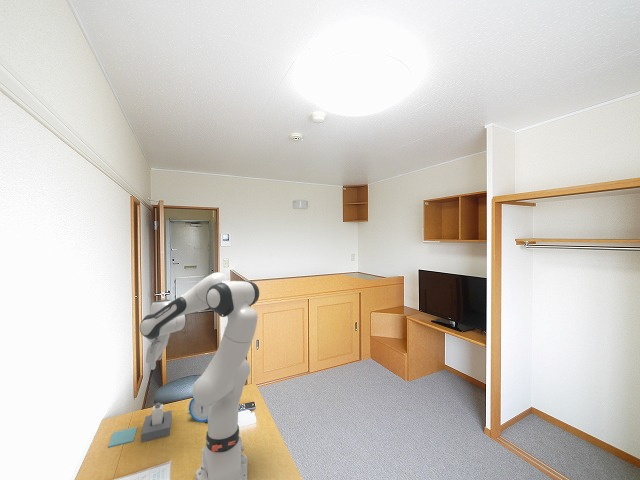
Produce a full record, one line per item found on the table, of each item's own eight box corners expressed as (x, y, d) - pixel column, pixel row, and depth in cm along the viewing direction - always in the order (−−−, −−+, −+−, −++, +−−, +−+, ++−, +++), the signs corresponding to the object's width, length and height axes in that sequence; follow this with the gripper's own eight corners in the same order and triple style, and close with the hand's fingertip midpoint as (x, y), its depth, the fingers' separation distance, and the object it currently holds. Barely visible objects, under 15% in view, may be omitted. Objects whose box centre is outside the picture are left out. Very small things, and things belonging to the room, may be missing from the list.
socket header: (169, 436, 124) (169, 427, 124) (140, 443, 119) (140, 434, 120) (171, 418, 137) (171, 410, 137) (145, 424, 132) (145, 416, 132)
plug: (161, 430, 127) (162, 405, 127) (151, 433, 125) (152, 407, 126) (162, 425, 131) (163, 400, 131) (152, 427, 129) (153, 402, 129)
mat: (133, 442, 120) (133, 440, 120) (107, 449, 116) (107, 446, 116) (137, 428, 129) (137, 426, 129) (113, 434, 125) (113, 432, 125)
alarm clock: (188, 422, 134) (188, 390, 135) (195, 414, 140) (195, 384, 141) (213, 424, 133) (214, 392, 133) (219, 416, 139) (220, 386, 139)
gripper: (159, 343, 119) (156, 375, 119) (172, 327, 139) (169, 354, 139) (143, 343, 118) (140, 375, 118) (157, 327, 137) (155, 354, 137)
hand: (156, 364), depth 129 cm, fingers open, 8 cm apart
